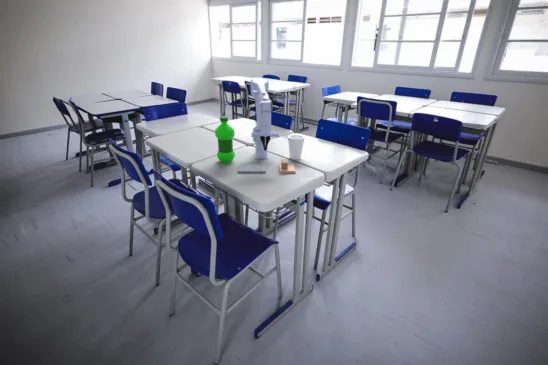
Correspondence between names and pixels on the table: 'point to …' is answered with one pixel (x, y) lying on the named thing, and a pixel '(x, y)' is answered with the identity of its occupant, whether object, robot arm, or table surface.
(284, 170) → the stub
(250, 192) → the table surface
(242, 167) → the board
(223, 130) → the plastic bottle
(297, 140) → the foam cup
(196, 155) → the table surface
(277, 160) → the table surface
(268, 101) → the robot arm
